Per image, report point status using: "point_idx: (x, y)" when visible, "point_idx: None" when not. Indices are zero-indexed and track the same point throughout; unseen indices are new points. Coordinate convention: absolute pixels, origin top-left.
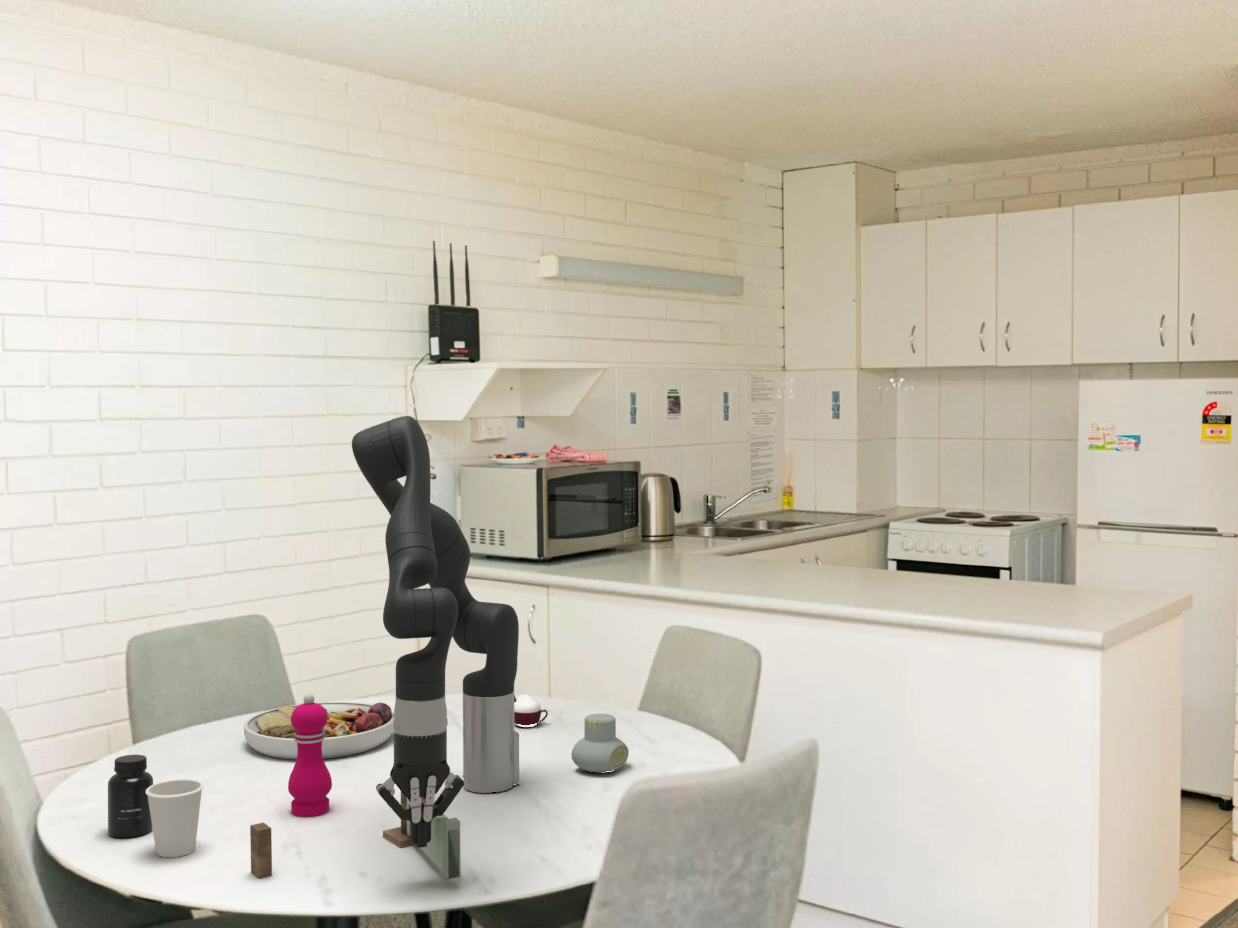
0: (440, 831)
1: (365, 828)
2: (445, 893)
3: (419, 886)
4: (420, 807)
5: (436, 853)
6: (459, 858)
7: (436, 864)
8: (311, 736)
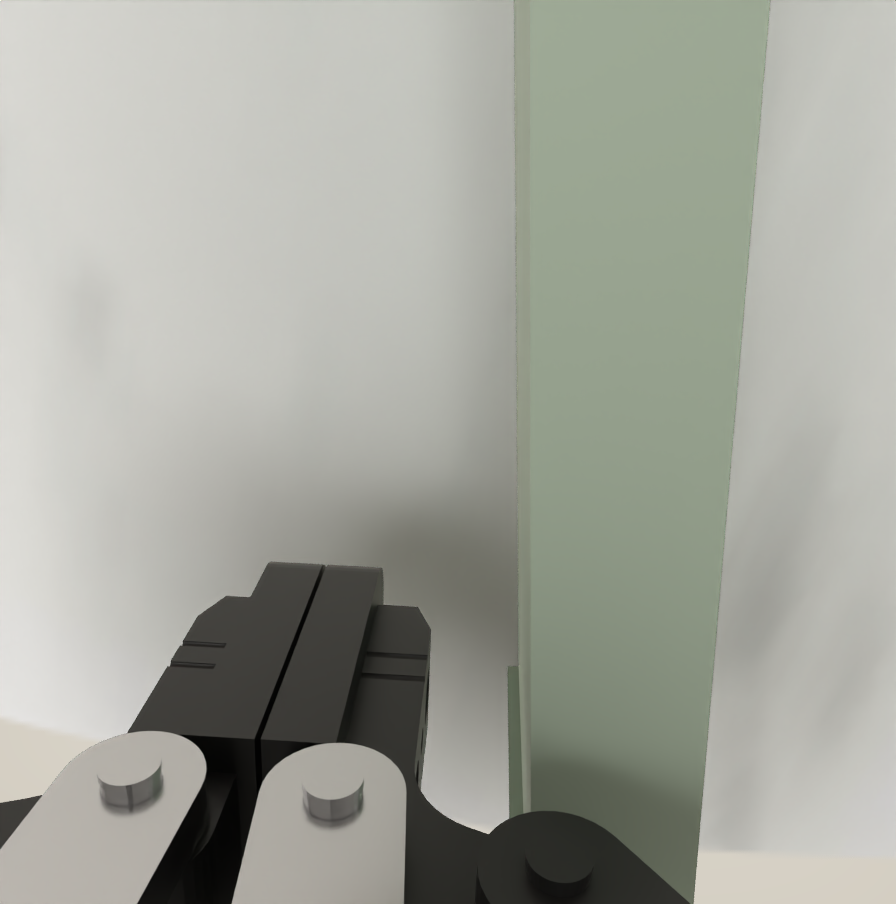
0: None
1: None
2: (479, 742)
3: None
4: (241, 872)
5: (519, 529)
6: None
7: (517, 486)
8: None
